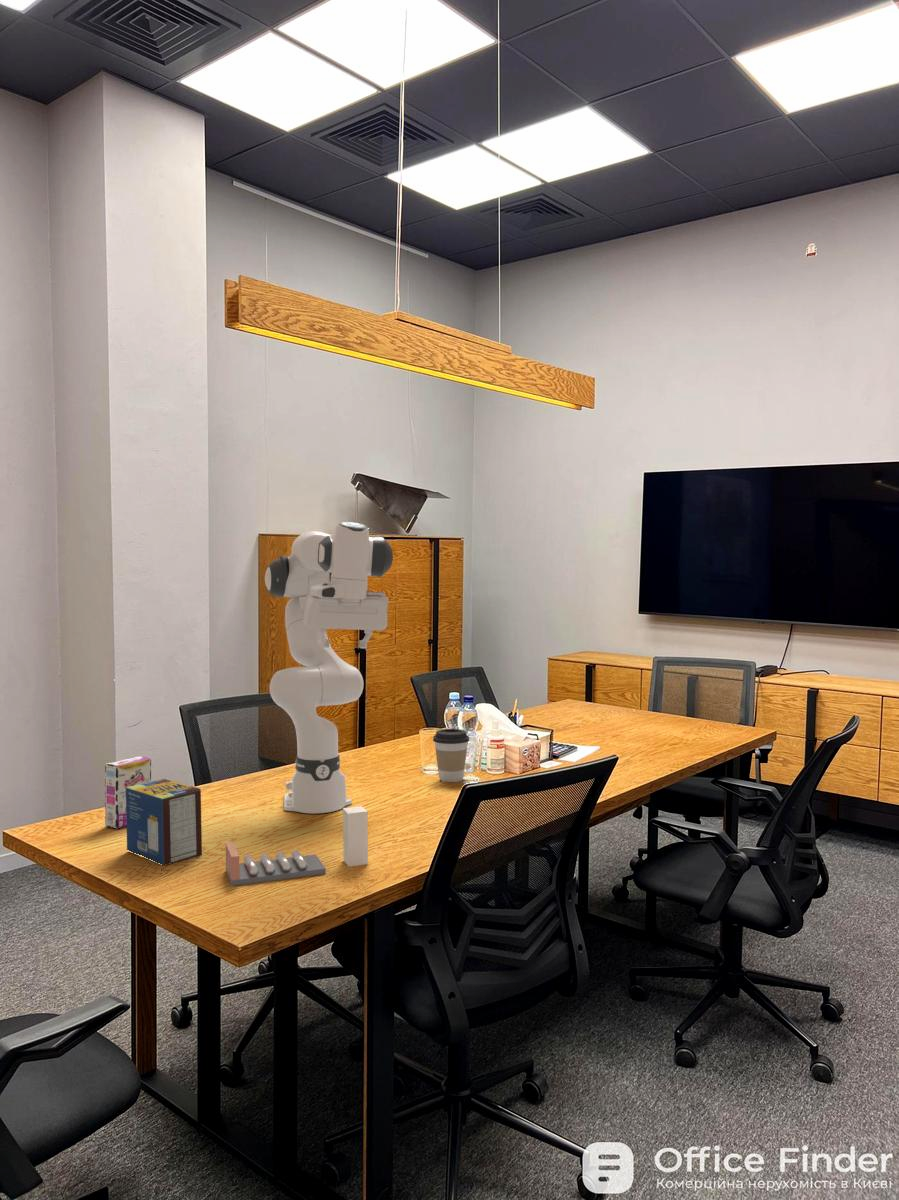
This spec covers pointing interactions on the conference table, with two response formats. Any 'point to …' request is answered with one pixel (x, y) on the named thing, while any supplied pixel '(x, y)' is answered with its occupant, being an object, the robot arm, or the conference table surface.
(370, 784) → the conference table surface
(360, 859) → the wooden block
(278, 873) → the roller track
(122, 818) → the candy bar box
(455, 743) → the coffee cup
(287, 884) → the conference table surface
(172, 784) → the protein box
